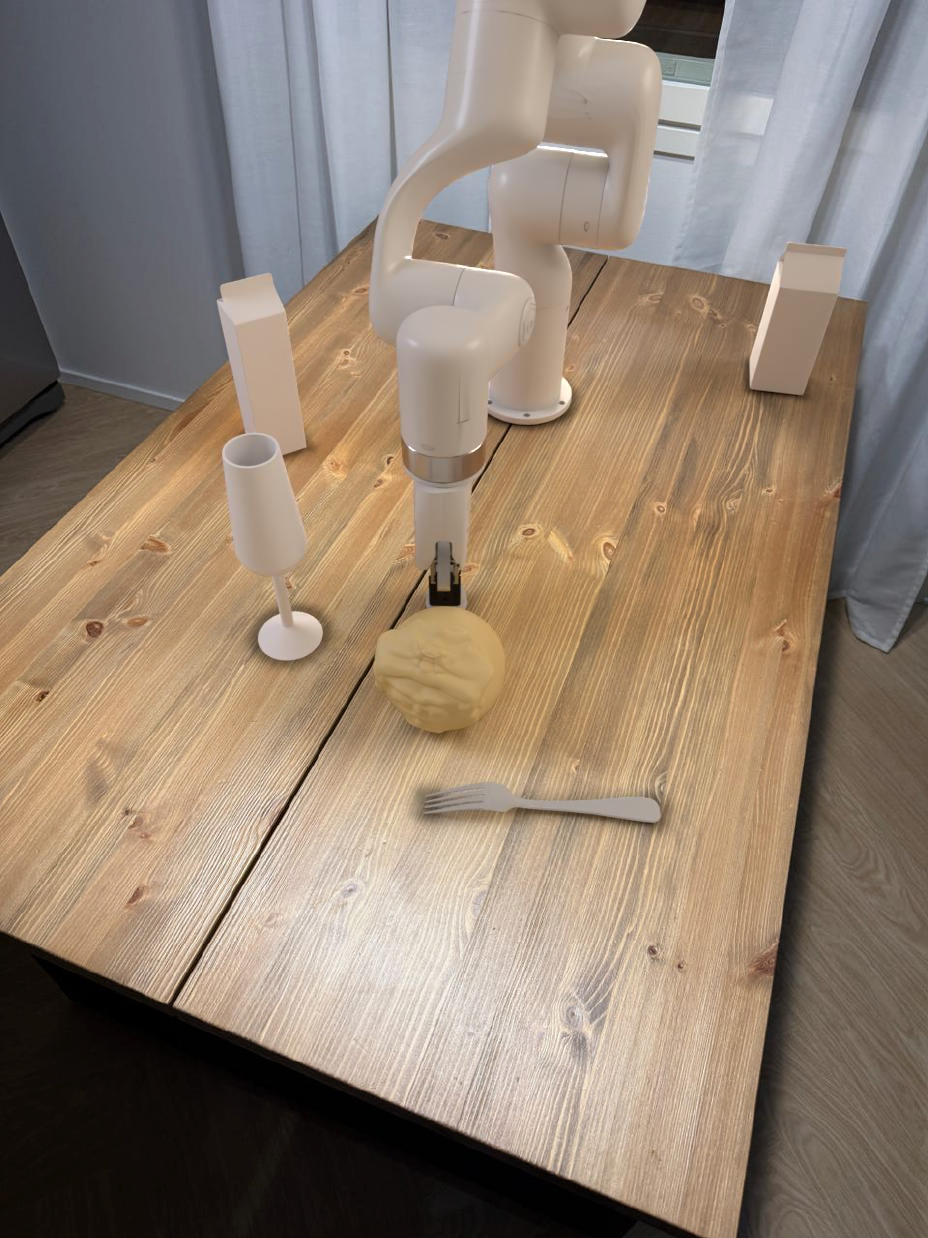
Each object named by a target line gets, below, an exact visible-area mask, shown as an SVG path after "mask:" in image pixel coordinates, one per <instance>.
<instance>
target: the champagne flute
mask: <svg viewBox="0 0 928 1238" xmlns="http://www.w3.org/2000/svg"><path fill="white" fill-rule="evenodd" d="M221 458H222V465H223V473H224V482H225V488H226V498H227V505H228V513H229V520H230V528H231V535H232V543H233V544H232V545H233V550H234V551H233V552H234V555H235V557H236V559H237V560H238V562H239V563H240V564H241V565H242V566H243V567H244V568H245V569H247V570H248V571H250V572H251V573H254V574H256V575H259V576H260V577H261V576H263V577H268V578H269V577H270V578H271V580H272V586H273V589H274V594H275V599H276V602H277V608H278V612H279V613H278V614H275V615H274V616H272V617H270V618H269V619H268V620H267V621H265V622H264V624H262V626H261V627H260V629H259V632H258V635H257V643H258V646H259V648H260V650H261V651H262V652H263V653H264V654H265V655H266V656H268V657H270V658H271V659H274V660H278V661H295V660H300V659H303V658H306V657H307V656H308V655H310V654H311V653H313V652H314V651H315V650H316V649H317V648H318V647H319V646H320V644H321V643H322V640H323V636H324V630H323V626H322V624H321V622H320V621H319V619H317V618H316V617H315V616H313V615H312V614H309V613H307V612H303V611H298V610H294V611H292V607H291V602H290V599H289V598H290V597H289V593H288V588H287V583H286V579H285V574H288V573H289V572H291V571H293V570H294V569H295V568H296V567H297V566H299V564H300V563H301V561H302V560H303V559H304V556H305V554H306V552H307V549H308V541H309V540H308V536H307V533H306V529H305V526H304V522H303V519H302V516H301V513H300V509H299V506H298V503H297V500H296V498H295V497H296V496H295V493H294V490H293V487H292V483H291V480H290V477H289V474H288V470H287V467H286V463H285V460H284V456H283V455H282V453H281V450H280V447H279V444H278V442H277V441H276V439H274V438H273V437H271V436H269V435H267V434H263V433H246V434H245V433H243V434H239V435H236V436H235V437H232V438H231V439H229V440H228V441H227V442H226V443H225V444H224V445H223V447H222V450H221Z"/></svg>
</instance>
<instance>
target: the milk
mask: <svg viewBox="0 0 928 1238" xmlns="http://www.w3.org/2000/svg"><path fill="white" fill-rule="evenodd" d="M273 279H274V277H273V275H272V273H271V272H266V273H262V274H258V275H255V276H250V277H246V278H242V279H238V280H233V281H230V282H226V283H223V284H221V285H220V286H219V291H220V295H221V298H218V299H217V300H216V305H217V310H218V314H219V319H220V323H221V327H222V333H223V337H224V342H225V346H226V349H227V350H226V352H227V355H228V360H229V365H230V369H231V374H232V377H233V383H234V387H235V391H236V393H235V394H236V397H237V403H238V406H239V410H240V415H241V418H242V419H241V420H242V425H243V429H244V434H246V433H263V434H267V435H269V436H271V437H273V438H274V439H276V441H277V442H278V444H279V447H280V450H281V453H282V456H285V455H288V454H291V453H294V452H297V451H300V450H304V449H306V448H307V440H306V435H305V427H304V422H303V415H302V409H301V401H300V395H299V390H298V382H297V376H296V370H295V364H294V363H295V362H294V357H293V352H292V344H291V338H290V331H289V325H288V320H287V311H286V309H285V307H284V305H283V302H282V300H281V298H280V296H279V294H278V292H277V291H278V290H276V287H275V285H274V280H273Z"/></svg>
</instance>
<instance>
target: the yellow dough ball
mask: <svg viewBox="0 0 928 1238" xmlns="http://www.w3.org/2000/svg"><path fill="white" fill-rule="evenodd" d="M374 651H375V652H374V660H373V663H372V672H373V676H374V678H375V680H374V684H375V687H376V690H377V691H378V692H380V693H384V694H385V696H386V697H387V699H388V700H389V702H390V703H391V704H392V705H393V707H395V709H396V710H398V712H399V713H400V714H402V715H403V717H404V720H405V722H406V723H407V724H410V725H411V726H412V727H414V728H417V729H421V730H423V731H425V732H429V733H435V734H442V733H444V732H449V731H459V730H461V729H465V728H467V727H470V726H472V725H474V724H475V723H477V722H478V721H480V720H481V719H482V718H483V717H485V716H486V715H487V713H489V711H490V710H491V709H492V708H493V706H494V705H495V703H496V702H497V701H498V698H499V696H500V694H501V692H502V689H503V686H504V682H505V677H506V668H507V667H506V655H505V650H504V648H503V644H502V642H501V640H500V637H499V635H498V634H497V633H496V632H495V630H494V628H492V627H491V625H489V623H487V622H486V621H485V620H484V619H483V618H481V617H480V616H478V615H477V614H475V613H473V612H472V611H469V610H467V609H461V608H457V607H451V606H437V607H431V608H427V607H426V608H424V609H421V610H418V611H416V612H415V613H413V614H412V615H410V616H409V617H407V618H406V619H405V620H404V621H402V623H400V625H399V626H398V627H397V628H396V629H394V628H393V629H389V630H387V631H384V632H382V633H381V634H380V635H379V637H378V639H377V642H376V646H375V650H374Z"/></svg>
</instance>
